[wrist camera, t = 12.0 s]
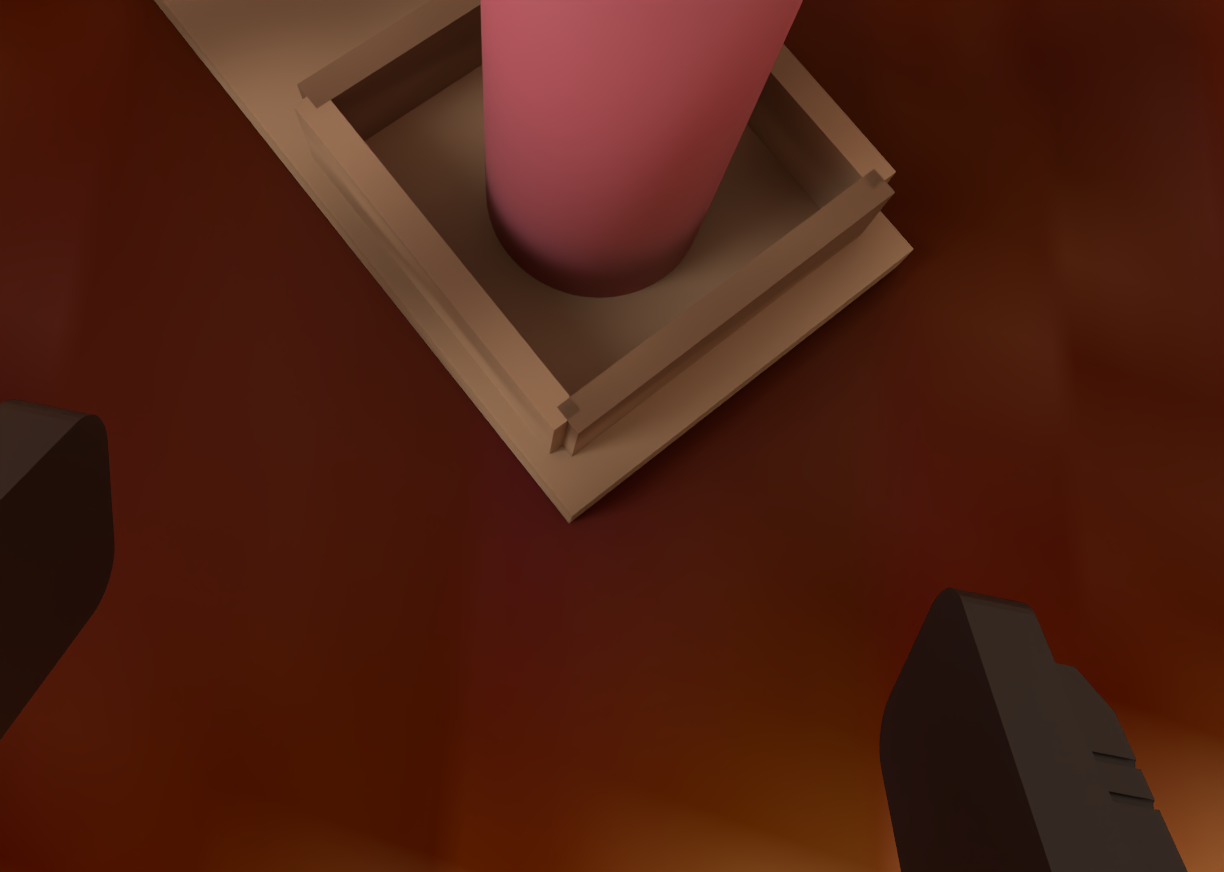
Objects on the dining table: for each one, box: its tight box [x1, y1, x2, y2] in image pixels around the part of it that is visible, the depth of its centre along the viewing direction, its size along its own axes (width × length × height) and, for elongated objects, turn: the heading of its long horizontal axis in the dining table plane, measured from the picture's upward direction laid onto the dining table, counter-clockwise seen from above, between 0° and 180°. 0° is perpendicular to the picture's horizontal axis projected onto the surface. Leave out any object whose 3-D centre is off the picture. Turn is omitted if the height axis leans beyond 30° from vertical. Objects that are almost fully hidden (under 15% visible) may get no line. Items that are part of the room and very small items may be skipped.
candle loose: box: [480, 0, 803, 298], centre depth 16 cm, size 4×4×12 cm
